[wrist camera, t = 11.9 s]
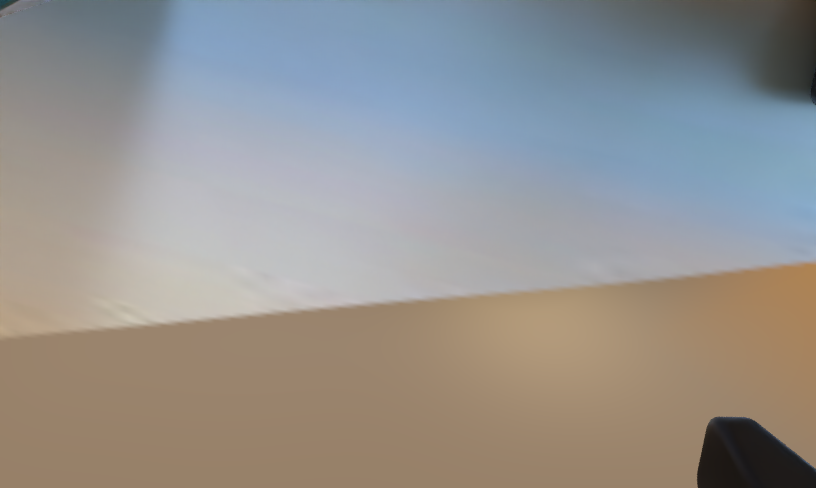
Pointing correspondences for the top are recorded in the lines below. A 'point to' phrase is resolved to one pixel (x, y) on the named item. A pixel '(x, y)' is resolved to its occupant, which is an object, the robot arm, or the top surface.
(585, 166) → the top surface
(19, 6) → the tumbler
